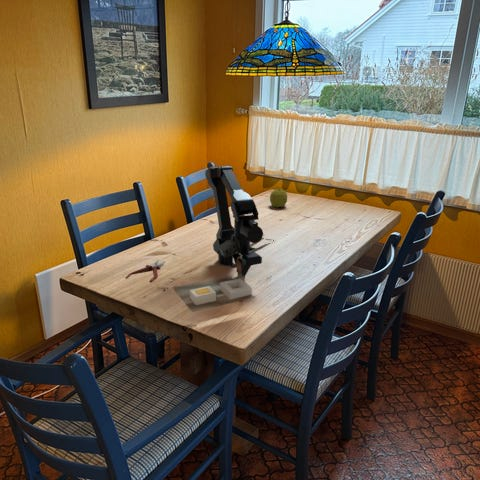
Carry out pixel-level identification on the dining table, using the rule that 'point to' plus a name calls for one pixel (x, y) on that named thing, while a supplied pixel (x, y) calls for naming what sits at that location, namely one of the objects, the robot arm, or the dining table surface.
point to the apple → (278, 198)
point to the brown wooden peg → (239, 269)
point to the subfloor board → (215, 285)
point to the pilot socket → (235, 288)
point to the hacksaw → (258, 247)
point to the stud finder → (202, 295)
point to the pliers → (149, 268)
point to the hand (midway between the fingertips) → (241, 273)
